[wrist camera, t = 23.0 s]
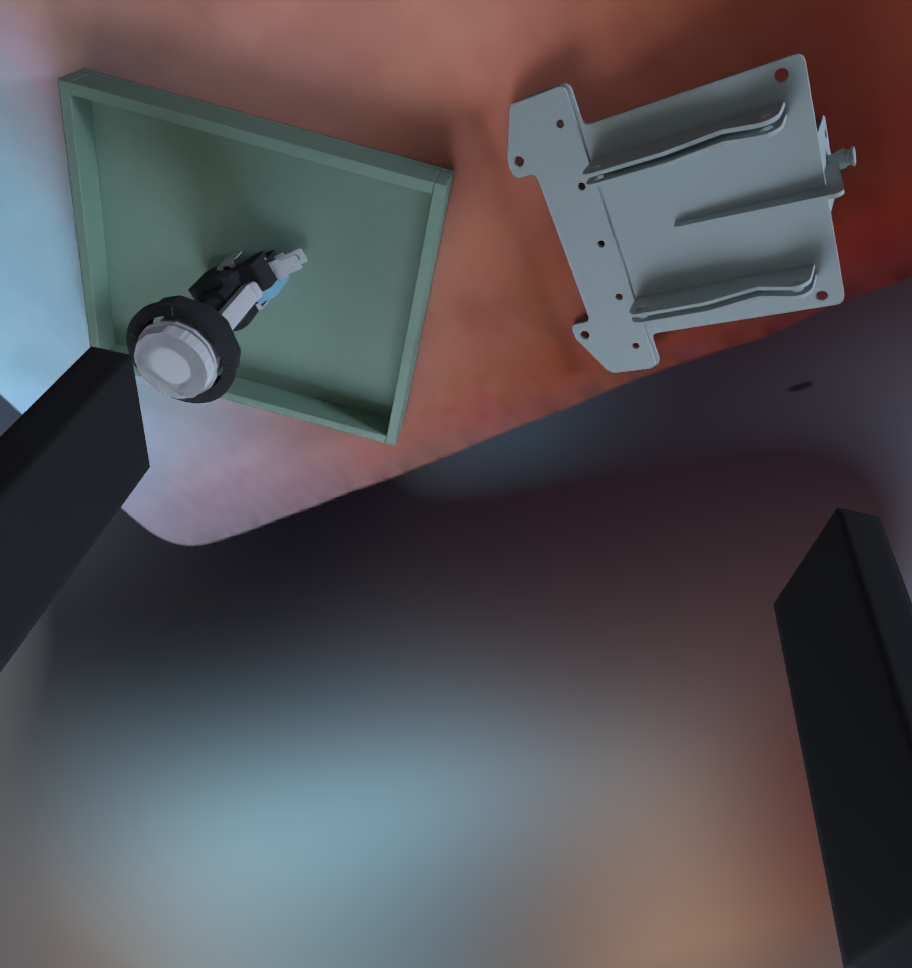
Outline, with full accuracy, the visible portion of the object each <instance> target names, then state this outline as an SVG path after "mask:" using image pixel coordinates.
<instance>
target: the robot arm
mask: <svg viewBox="0 0 912 968" xmlns="http://www.w3.org/2000/svg"><path fill="white" fill-rule="evenodd" d="M149 467H150V465H149V459H148V453H147V447H146V441H145V434H144V428H143V422H142V416H141V410H140V404H139V398H138V392H137V385H136V379H135V373H134V367H133V361H132V355H130V354H125V353H121V352H116V351H111V350H107V349H102V348H97V347H93V346H91V347H90V348H89V349H88V350H87V351H86V352H85V353H84V354H83V355H82V356H81V357H80V358H79V359H78V360H77V361H76V362H75V363H74V364H73V365H72V366H71V367H70V368H69V369H68V370H67V371H66V372H65V373H64V374H63V375H62V376H61V377H60V378H59V379H58V380H57V381H56V382H55V383H54V384H53V385H52V386H51V387H50V388H49V389H48V390H47V391H46V392H45V393H44V394H43V395H42V396H41V397H40V398H39V399H38V400H37V401H36V402H35V403H34V404H33V405H32V406H31V407H30V408H29V409H28V410H27V411H26V412H25V413H24V414H23V415H22V416H21V417H20V418H19V419H18V420H17V421H16V422H15V423H14V424H13V425H12V426H11V427H10V428H9V429H8V430H7V431H6V432H5V433H4V434H3V435H2V436H1V437H0V672H1V671H2V669H3V668H4V667H5V665H6V664H7V662H8V661H9V660H10V658H11V657H12V656H13V654H14V653H15V652H16V650H17V649H18V647H19V646H20V645H21V643H22V642H23V641H24V639H25V638H26V636H27V635H28V634H29V632H30V631H31V630H32V628H33V627H34V625H35V624H36V623H37V621H38V620H39V619H40V617H41V616H42V614H43V613H44V612H45V610H46V609H47V608H48V606H49V605H50V603H51V602H52V601H53V599H54V598H55V596H56V595H57V594H58V592H59V591H60V590H61V588H62V587H63V586H64V584H65V583H66V581H67V580H68V579H69V577H70V576H71V575H72V573H73V572H74V570H75V569H76V567H77V566H78V565H79V564H80V562H81V561H82V559H83V558H84V557H85V555H86V554H87V553H88V551H89V550H90V548H91V547H92V546H93V544H94V543H95V542H96V540H97V539H98V537H99V536H100V535H101V533H102V532H103V530H104V529H105V528H106V526H107V525H108V524H109V522H110V521H111V519H112V518H113V517H114V515H115V514H116V513H117V511H118V510H119V509H120V507H121V506H122V504H123V503H124V502H125V500H126V499H127V498H128V496H129V495H130V493H131V492H132V491H133V489H134V488H135V487H136V485H137V484H138V482H139V481H140V480H141V478H142V477H143V476H144V474H145V473H146V472H147V470H148V469H149ZM774 609H775V614H776V620H777V625H778V630H779V635H780V640H781V645H782V651H783V656H784V661H785V666H786V671H787V677H788V682H789V687H790V692H791V697H792V702H793V707H794V713H795V718H796V723H797V728H798V733H799V739H800V744H801V749H802V754H803V759H804V765H805V770H806V775H807V780H808V785H809V790H810V795H811V801H812V806H813V811H814V817H815V822H816V827H817V832H818V837H819V843H820V848H821V853H822V858H823V863H824V868H825V874H826V879H827V884H828V889H829V895H830V900H831V905H832V910H833V914H834V920H835V926H836V931H837V936H838V941H839V946H840V951H841V956H842V962H843V967H844V968H912V603H911V600H910V597H909V595H908V592H907V589H906V586H905V584H904V581H903V578H902V576H901V573H900V570H899V567H898V565H897V562H896V559H895V557H894V554H893V551H892V548H891V546H890V543H889V540H888V538H887V535H886V532H885V529H884V527H883V524H882V521H881V519H880V517H879V516H874V515H869V514H865V513H860V512H855V511H851V510H846V509H842V508H837V509H836V511H835V512H834V514H833V515H832V517H831V518H830V520H829V521H828V523H827V524H826V526H825V528H824V529H823V530H822V532H821V533H820V535H819V537H818V538H817V540H816V541H815V542H814V544H813V545H812V547H811V548H810V550H809V552H808V553H807V554H806V556H805V558H804V559H803V561H802V562H801V564H800V565H799V567H798V568H797V570H796V571H795V573H794V574H793V576H792V577H791V579H790V580H789V582H788V583H787V585H786V586H785V588H784V589H783V591H782V593H781V594H780V595H779V597H778V598H777V600H776V602H775V603H774Z"/></svg>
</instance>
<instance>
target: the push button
mask: <svg viewBox="0 0 912 968" xmlns="http://www.w3.org/2000/svg"><path fill="white" fill-rule="evenodd" d="M241 253H242V251H240V252H237V253H235V254H233V255H230V256H229V257H227V258H226V259H225V260H224V261H223V262H222V263H221V264H220V265H219V266H218V267H215V268H213V269H210V270H208V271H207V272H205V273H204V274H203V275H202V276H201V277H200V278H199V279H198V280H197V281H196V282H195V283H194V284H193V285H192V286H191V287H190V288H189V289H188V291H189V293H190V294H191V296H192V297H193V298H194V300H193V299H190V298H187V297H184V296H181V295H177V296H171V297H165V298H162V299H161V300H160V301H159V302H155V303H151V304H149V305H147V306H145V307H143V308H142V309H141V310H139V311H138V312H137V313H136V314H135V315H134V316H133V318H132V319H131V321H130V323H129V325H128V328H127V333H126V343H127V348H128V352H129V354H130V355H132V361H133V363H134V365H135V367H136V368H137V370H138V371H139V372H140V374H141V375H142V377H143V378H144V379H145V380H146V381H147V383H148V384H149V385H151V386H152V387H154V388H155V389H156V390H157V391H158V392H161V393H162V394H164V395H168V396H170V397H172V398H175V399H177V400H180V401H184V402H189V403H206V402H211V401H214V400H216V399H218V398H220V397H221V396H223V395H224V394H225V393H226V392H227V391H228V389H229V388H230V387H231V385H232V384H233V382H234V380H235V377H236V373H237V368H238V367H239V364H240V356H241V348H240V346H239V344H238V342H237V339H236V337H235V335H234V332H233V331H239V330H242V329H244V328H245V327H247V326H248V325H249V324H250V322H251V321H252V320H253V319H254V317H255V316H256V315H257V313H258V312H259V310H261V309H263V307H265V306H266V304H267V303H268V302H269V300H270V299H272V298H274V297H275V296H277V295H278V293H279V292H280V290H281V289H282V287H283V286H284V285H285V284H286V282H287V281H288V280H289V278H290V276H289V274H290V273H292V272H295V271H297V270H300V269H301V268H302V265H301V264H303V263H305V262H307V258H306V256H305V254H304V253H303V251H302V249H300V248H299V249H297V250H294V251H292V252H290V253H287V254H285V255H284V253H283V252H282V253H280V254H278V255H276V253H275V251H274V250H272V251H269V252H267V253H264V251H261V252H259V253H257V254H255V255H253V256H252V257H250V258H249V259H248V260H246V261H245V262H243V263H241V264H239V265H237V266H236V265H235V264H234V260H236V259H237V258H238V257H239V255H240V254H241ZM295 254H296V255H298V256H299V257H300V261H299V260H298V259H297V257H296V256H295ZM232 257H233V258H232ZM293 267H294V268H293ZM261 303H262V304H261ZM260 304H261V305H260ZM162 316H164V317H163V318H162V319H161V320H160V321H159V322H157V323H154V324H153V321H154V318H157V317H162ZM222 366H223V369H222V374H221V375H218V376H217V372H218V371H219V370H220V368H221V367H222Z"/></svg>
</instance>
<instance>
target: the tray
mask: <svg viewBox="0 0 912 968" xmlns="http://www.w3.org/2000/svg"><path fill="white" fill-rule="evenodd" d="M58 86H59V95H60V103H61V111H62V119H63V127H64V135H65V143H66V152H67V160H68V168H69V176H70V184H71V192H72V201H73V209H74V217H75V225H76V233H77V241H78V249H79V258H80V266H81V274H82V282H83V290H84V298H85V306H86V315H87V323H88V331H89V339H90V347H91V346H93V347H97V348H102V349H107V350H111V351H116V352H121V353H125V354H129V352H128V348H127V343H126V333H127V328H128V325H129V323H130V321H131V319H132V318H133V316H134V315H135V314H136V313H137V312H138V311H139V310H141V309H142V308H143V307H145V306H147V305H149V304H151V303H155V302H159V301H160V300H161V299H162V298H165V297H171V296H177V295H181V296H184V297H187V298H190V299H193V300H194V298H193V297H192V296H191V294H190V293H189V291H188V289H189V288H190V287H191V286H192V285H193V284H194V283H195V282H196V281H197V280H198V279H199V278H200V277H201V276H202V275H203V274H204V273H205V272H207V271H208V270H210V269H213V268H215V267H218V266H219V265H220V264H221V263H222V262H223V261H224V260H225V259H226V258H227V257H229V256H230V255H233V254H235V253H237V252H240V251H242V253H241V254H240V255H239V257H238V258H237V259H236V260H234V264H235V265H236V266H237V265H239V264H241V263H243V262H245V261H246V260H248V259H249V258H250V257H252V256H253V255H255V254H257V253H259V252H261V251H264V253H267V252H269V251H272V250H274V251H275V253H276V255H278V254H280V253H282V252H283V253H284V255H285V254H287V253H290V252H292V251H294V250H297V249H299V248H300V249H302V251H303V253H304V254H305V256H306V258H307V262H305V263H303V264H301V265H302V268H301V269H300V270H297V271H295V272H292V273H290V274H289V276H290V278H289V280H288V281H287V282H286V284H285V285H284V286H283V287H282V289H281V290H280V292H279V293H278V295H277V296H275V297H274V298H272V299H270V300H269V302H268V303H267V304H266V306H265V307H263V309H261V310H259V312H258V313H257V315H256V316H255V317H254V319H253V320H252V321H251V322H250V324H249V325H248V326H247V327H245V328H244V329H242V330H239V331H233V332H234V335H235V337H236V339H237V342H238V344H239V346H240V348H241V356H240V364H239V367H238V368H237V373H236V377H235V380H234V382H233V384H232V385H231V387H230V388H229V389H228V391H227V392H226V393H225V394H224V395H223V396H221V397H220V398H223V399H226V400H230V401H234V402H237V403H241V404H245V405H248V406H252V407H256V408H259V409H263V410H267V411H270V412H274V413H278V414H281V415H285V416H288V417H292V418H296V419H299V420H303V421H307V422H310V423H314V424H318V425H321V426H325V427H329V428H332V429H336V430H340V431H343V432H347V433H350V434H354V435H358V436H361V437H365V438H369V439H372V440H376V441H380V442H383V443H385V442H386V443H387V444H390V445H395V444H396V441H397V439H398V436H399V433H400V431H401V428H402V426H403V422H404V417H405V412H406V407H407V402H408V397H409V392H410V387H411V382H412V377H413V372H414V367H415V363H416V358H417V353H418V348H419V343H420V338H421V333H422V328H423V323H424V318H425V313H426V308H427V303H428V298H429V294H430V289H431V284H432V279H433V274H434V269H435V264H436V259H437V254H438V249H439V244H440V239H441V234H442V229H443V224H444V220H445V215H446V210H447V205H448V200H449V195H450V190H451V185H452V180H453V175H454V171H453V170H449V169H446V168H442V167H438V166H435V165H431V164H427V163H424V162H420V161H417V160H413V159H409V158H406V157H402V156H398V155H395V154H391V153H388V152H384V151H380V150H377V149H373V148H369V147H366V146H362V145H359V144H355V143H351V142H348V141H344V140H340V139H337V138H333V137H330V136H326V135H322V134H319V133H315V132H311V131H308V130H304V129H301V128H297V127H293V126H290V125H286V124H282V123H279V122H275V121H271V120H268V119H264V118H261V117H257V116H253V115H250V114H246V113H242V112H239V111H235V110H232V109H228V108H224V107H221V106H217V105H213V104H210V103H206V102H203V101H199V100H195V99H192V98H188V97H184V96H181V95H177V94H174V93H170V92H166V91H163V90H159V89H155V88H152V87H148V86H145V85H141V84H137V83H134V82H130V81H126V80H123V79H119V78H116V77H112V76H108V75H105V74H101V73H97V72H94V71H90V70H86V69H81V70H78V71H76V72H74V73H71V74H69V75H66V76H64V77H61V78H59V79H58ZM295 256H296V257H297V259H298V260H299V261H300V257H299V256H298V255H296V254H295ZM232 258H233V257H232ZM293 268H294V267H293ZM261 304H262V303H261ZM261 304H260V305H261ZM163 317H164V316H162V317H157V318H154V321H153V324H154V323H157V322H159V321H160V320H161V319H162V318H163ZM133 367H134V373H135V375H139V376H142V375H141V374H140V372H139V371H138V370H137V368H136V367H135V365H134V363H133ZM222 369H223V366H222V367H221V368H220V370H219V371H218V372H217V376H218V375H221V374H222Z"/></svg>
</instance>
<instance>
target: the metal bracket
mask: <svg viewBox="0 0 912 968" xmlns="http://www.w3.org/2000/svg"><path fill="white" fill-rule="evenodd" d="M780 68H785V69H786V70H787V71H788V77H787V79H785V80H784V81H778V80H776V78H775V72H776V70H778V69H780ZM558 120H563V122H564V126H563V127H560V126H559V125H558V122H557V121H558ZM516 156H521V157H522V158H523V159H524V164H523V165H518V164H517V163H516V160H515V158H516ZM507 162H508V165H509V167H510V170H511V173H512V174H513V175H514V176H515V177H517V178H520V177H524V176H527V175H534V176H536V178H537V179H538V181H539V184H540V187H541V189H542V192H543V195H544V197H545V200H546V203H547V206H548V208H549V211H550V214H551V216H552V219H553V222H554V225H555V227H556V230H557V233H558V235H559V238H560V241H561V243H562V246H563V249H564V252H565V254H566V257H567V260H568V262H569V265H570V268H571V270H572V273H573V276H574V279H575V281H576V284H577V287H578V289H579V292H580V295H581V297H582V300H583V303H584V306H585V308H586V311H587V314H588V318H589V319H588V320H586V321H582V322H577V323H575V324H574V325H573V328H572V330H573V333H574V335H575V338H576V340H577V341H578V342H579V343H580V344H581V345H582V346H583V347H584V348H585V349H587V350H588V351H589V352H590V353H591V354H592V355H593V356H594V357H595V358H596V359H597V360H598V361H599V362H600V363H601V364H602V365H603V366H604V367H605V368H606V369H607V370H608V371H611V372H612V373H617V372H625V371H632V370H640V369H648V368H652V367H654V366H655V365H657V364H658V363H659V361H660V360H659V355H658V352H657V349H656V345H655V342H654V339H653V335H654V334H655V333H659V332H666V331H672V330H678V329H685V328H691V327H697V326H704V325H710V324H716V323H723V322H729V321H735V320H742V319H748V318H754V317H761V316H767V315H773V314H780V313H786V312H792V311H799V310H805V309H811V308H818V307H824V306H830V305H837V304H839V303H841V302H842V301H843V299H844V289H843V283H842V277H841V271H840V265H839V259H838V253H837V247H836V241H835V235H834V229H833V223H832V217H831V210H832V206H833V202H834V198H837V197H840V196H842V195H843V194H844V187H843V182H842V177H841V172H840V169H844V168H846V167H847V166H848V165H852V166H855V165H856V152H855V148H854V146H852V147H851V149H849V150H845V148H844V149H841V150H837V151H836V152H835V153H834V154H831V152H830V146H829V140H828V133H827V127H826V121H825V116H824V115H823V116H819V119H818V122H817V125H816V120H815V114H814V108H813V102H812V96H811V90H810V84H809V78H808V72H807V66H806V60H805V58H804V56H803V55H801V54H792V55H789V56H786V57H783V58H780V59H778V60H775V61H772V62H769V63H766V64H763V65H760V66H757V67H754V68H751V69H748V70H745V71H742V72H739V73H736V74H733V75H730V76H728V77H725V78H722V79H719V80H716V81H713V82H710V83H707V84H704V85H701V86H698V87H695V88H692V89H689V90H686V91H683V92H681V93H678V94H675V95H672V96H669V97H666V98H663V99H660V100H657V101H654V102H651V103H648V104H645V105H642V106H639V107H636V108H633V109H631V110H628V111H625V112H622V113H619V114H616V115H613V116H610V117H607V118H604V119H601V120H598V121H595V122H592V123H586V122H585V121H583V119H582V118H581V114H580V111H579V108H578V105H577V102H576V99H575V96H574V93H573V90H572V88H571V86H570V85H569V84H566V83H563V84H560V85H557V86H555V87H552V88H549V89H547V90H544V91H542V92H539V93H536V94H534V95H531V96H528V97H526V98H523V99H521V100H518V101H515V102H514V103H513V104H512V105H511V106H510V116H509V138H508V159H507ZM579 183H584V184H585V189H581V188H580V187H579ZM600 240H602V241H604V243H605V245H604V246H601V245H599V242H598V241H600ZM819 291H825V292H827V294H828V296H827V297H826V298H824V299H819V298H818V297H817V296H816V293H817V292H819ZM617 294H621V295H622V296H623V298H618V297H617ZM582 331H586V332H588V333H589V337H584V336H582V334H581V332H582ZM633 343H638V344H639V347H635V346H634V345H633Z"/></svg>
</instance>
